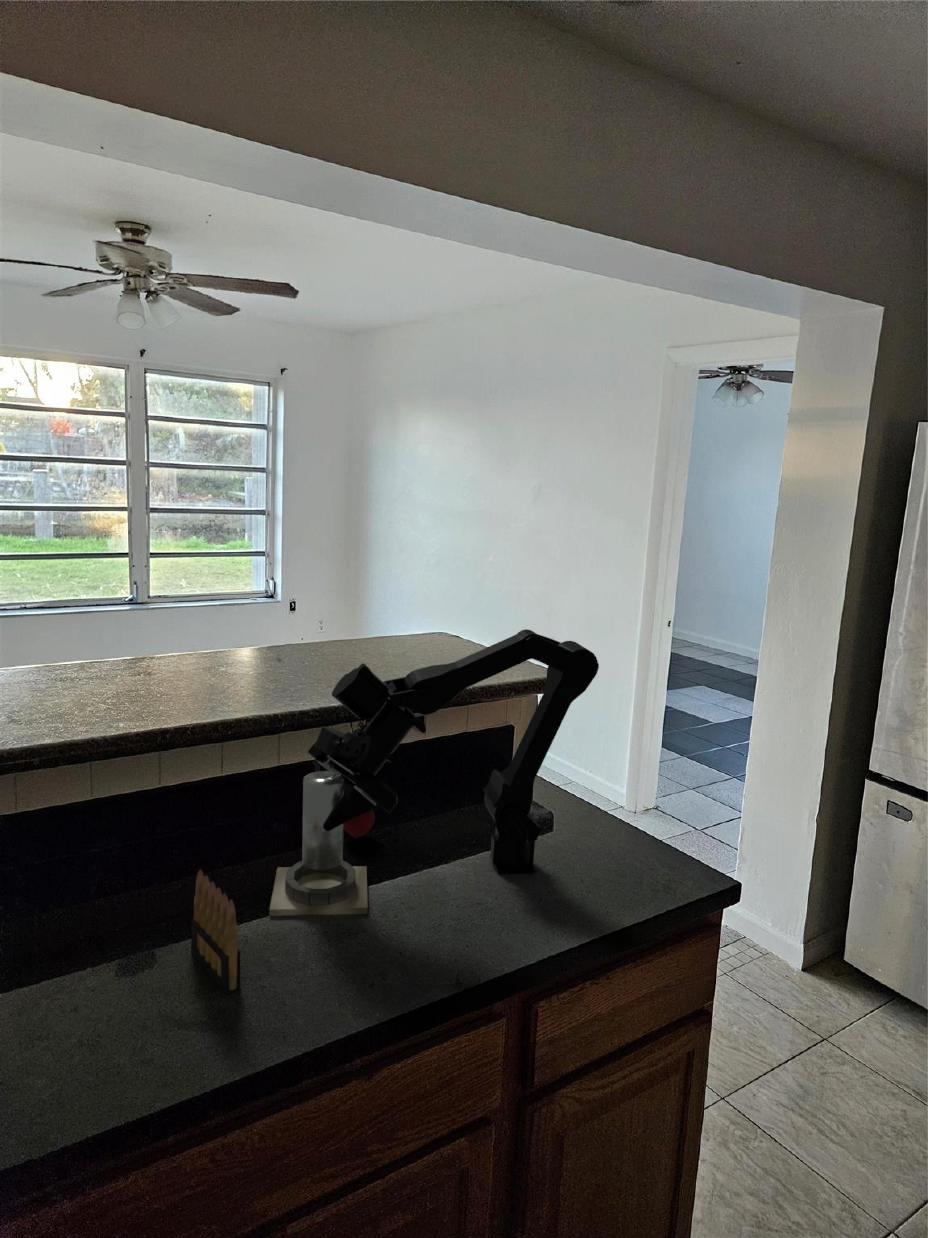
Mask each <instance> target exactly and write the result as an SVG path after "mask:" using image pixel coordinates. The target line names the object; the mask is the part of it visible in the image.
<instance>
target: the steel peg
mask: <svg viewBox="0 0 928 1238" xmlns="http://www.w3.org/2000/svg"><path fill="white" fill-rule="evenodd" d="M344 783H345V776H343V775H341V774H339V773H336V772H331V771H318V772H315V771H314V772H311V773H308V774H306V775H305V776H304V777H303V781H302V785H303V786H302V849H301V850H302V855H301V858H302V860H301V861H302V862H303V864H304V865H305V866H306V867H308V868H311V869H315V870H326V869H331V868H334V867H337V866H338V865H340V864H341V862H342V861H344V860H343V859H344V858H343V857H344V853H343V852H344V828H343V824H342V825H340V826H338V827H336V828H334V829H332V830H330V831H326V830H325V829H324V828H323V826H324V824H325V822H326V821H327V819H328V817H329V816H330V814H331V813H332V811H333V810H334V809H335V807H336V806H337V804H338V803H339V801H340V800H341V798H342V797H343V795H344Z"/></svg>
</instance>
